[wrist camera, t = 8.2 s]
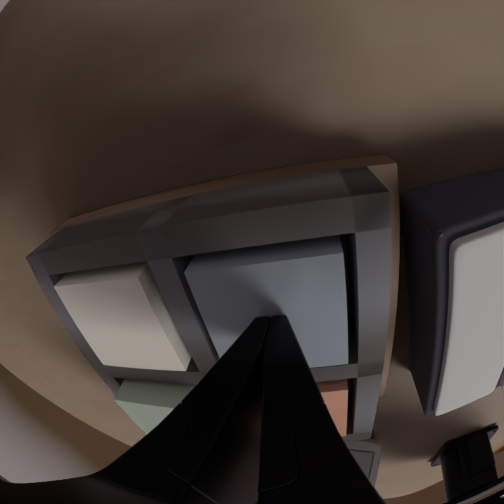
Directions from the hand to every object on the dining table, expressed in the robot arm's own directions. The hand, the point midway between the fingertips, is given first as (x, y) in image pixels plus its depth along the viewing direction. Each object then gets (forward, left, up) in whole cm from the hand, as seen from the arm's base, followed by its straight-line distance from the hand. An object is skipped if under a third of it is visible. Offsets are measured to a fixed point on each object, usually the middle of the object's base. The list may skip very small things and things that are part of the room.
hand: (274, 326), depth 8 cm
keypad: (-3, +3, -4) cm, 6 cm away
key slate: (0, 0, -2) cm, 2 cm away
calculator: (-3, -13, -5) cm, 14 cm away
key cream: (0, +5, -2) cm, 6 cm away
